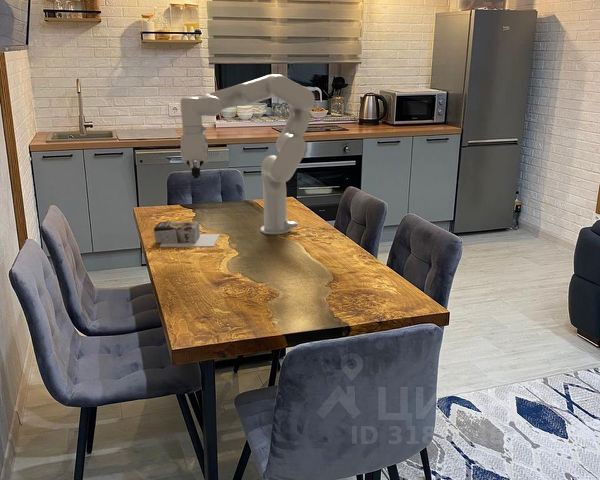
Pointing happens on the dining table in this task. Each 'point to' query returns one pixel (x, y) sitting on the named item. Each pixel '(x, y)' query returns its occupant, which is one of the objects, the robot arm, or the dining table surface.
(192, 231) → the coffee box
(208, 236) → the mat
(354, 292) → the dining table surface
